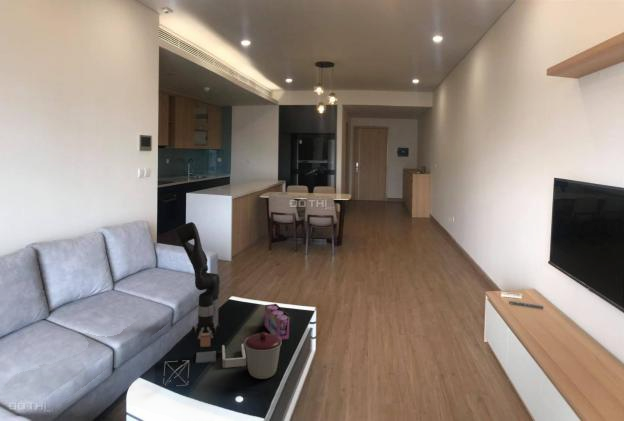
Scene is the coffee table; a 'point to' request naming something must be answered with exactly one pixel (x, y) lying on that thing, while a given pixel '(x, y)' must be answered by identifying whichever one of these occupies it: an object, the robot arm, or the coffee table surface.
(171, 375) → the geometric polyhedron
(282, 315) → the gum box
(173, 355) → the coffee table surface
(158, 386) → the coffee table surface
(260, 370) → the canister
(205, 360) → the slate coaster
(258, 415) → the coffee table surface
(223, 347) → the grey arch handle
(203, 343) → the terracotta block
